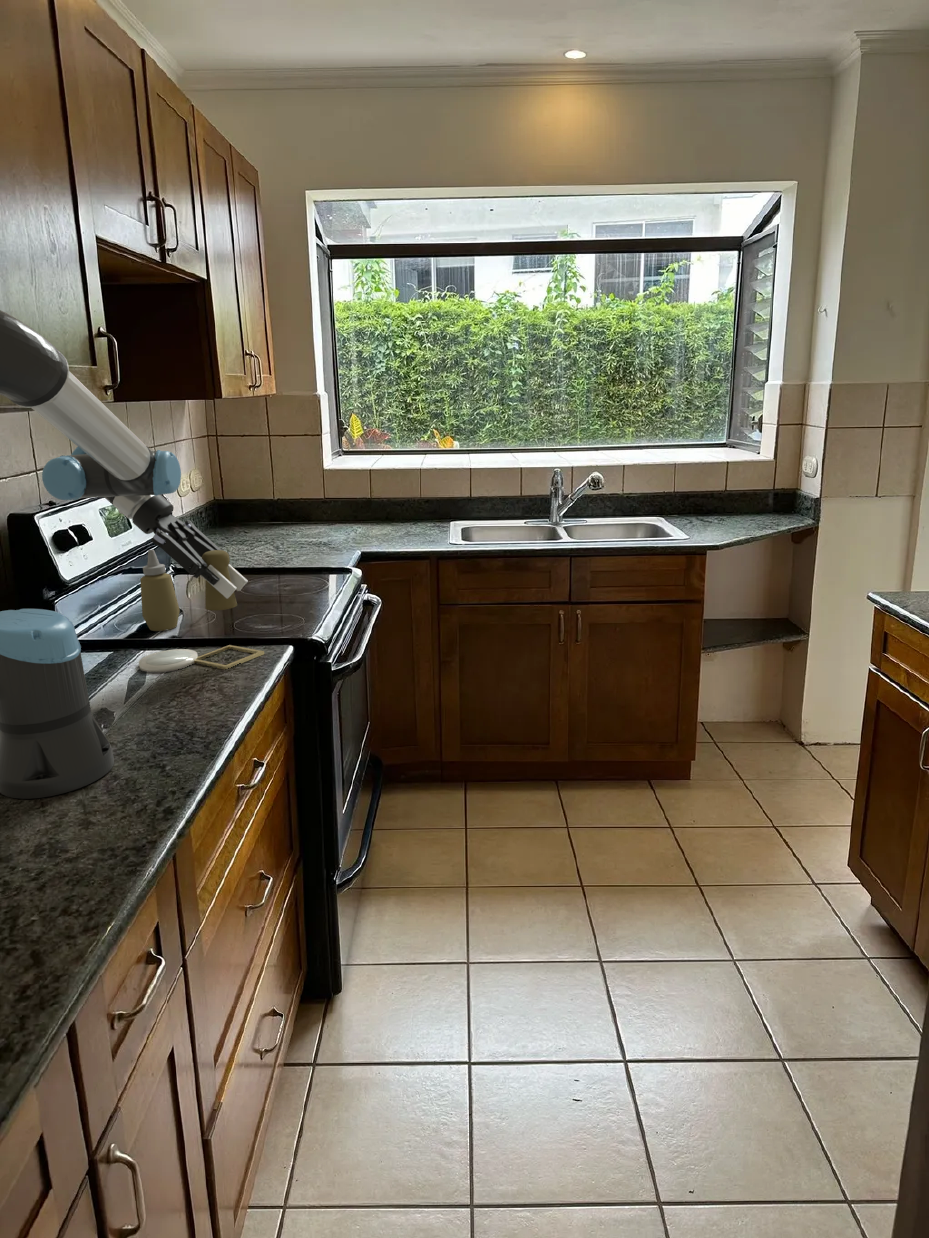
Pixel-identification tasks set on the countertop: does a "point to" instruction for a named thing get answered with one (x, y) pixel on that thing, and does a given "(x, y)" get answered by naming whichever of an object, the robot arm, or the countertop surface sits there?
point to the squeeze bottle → (158, 596)
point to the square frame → (255, 654)
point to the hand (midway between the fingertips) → (237, 589)
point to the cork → (212, 595)
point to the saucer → (168, 660)
